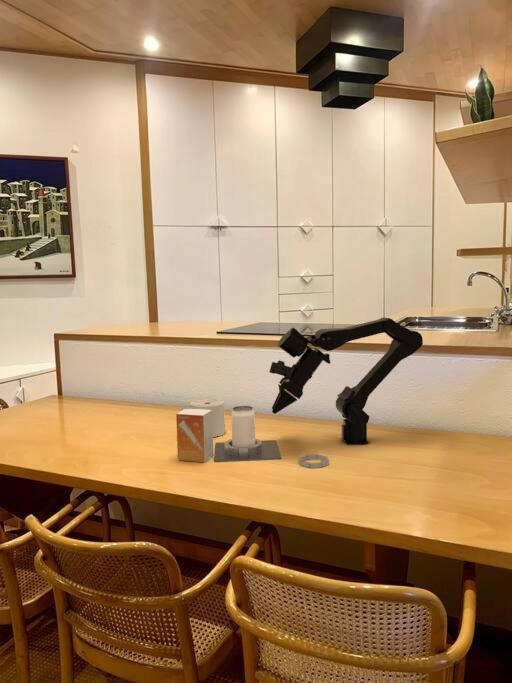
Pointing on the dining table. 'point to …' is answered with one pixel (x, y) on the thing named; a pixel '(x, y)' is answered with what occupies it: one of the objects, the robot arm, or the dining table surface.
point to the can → (243, 426)
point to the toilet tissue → (217, 413)
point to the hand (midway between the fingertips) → (273, 411)
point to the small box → (194, 435)
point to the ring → (313, 465)
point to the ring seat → (246, 451)
